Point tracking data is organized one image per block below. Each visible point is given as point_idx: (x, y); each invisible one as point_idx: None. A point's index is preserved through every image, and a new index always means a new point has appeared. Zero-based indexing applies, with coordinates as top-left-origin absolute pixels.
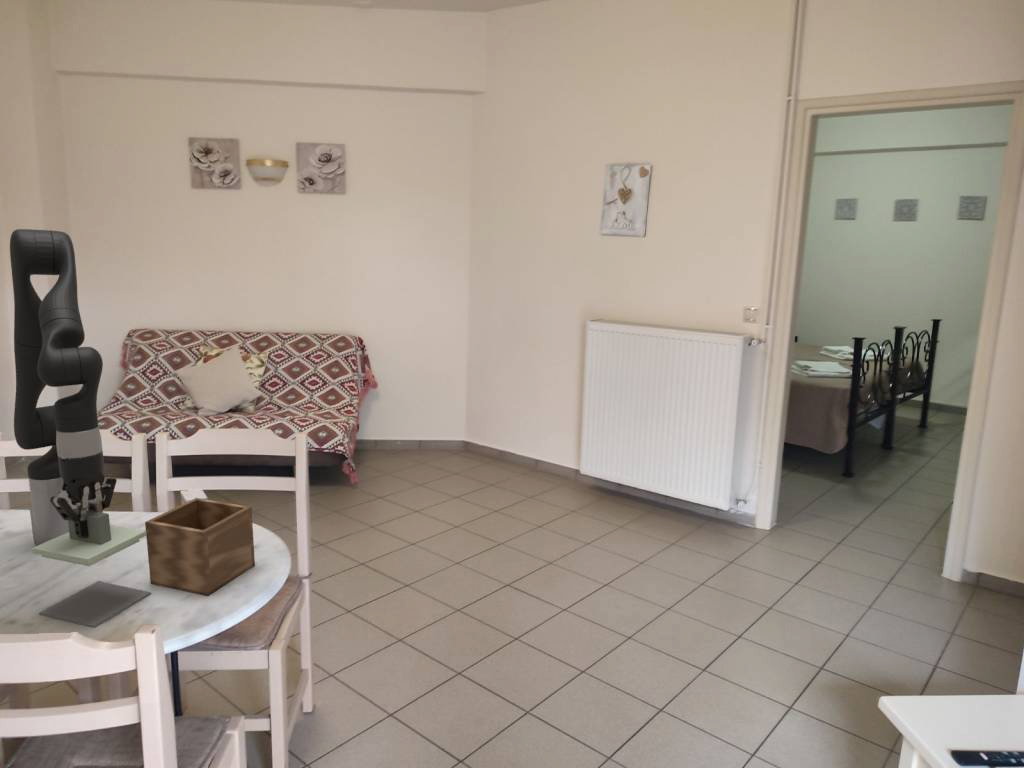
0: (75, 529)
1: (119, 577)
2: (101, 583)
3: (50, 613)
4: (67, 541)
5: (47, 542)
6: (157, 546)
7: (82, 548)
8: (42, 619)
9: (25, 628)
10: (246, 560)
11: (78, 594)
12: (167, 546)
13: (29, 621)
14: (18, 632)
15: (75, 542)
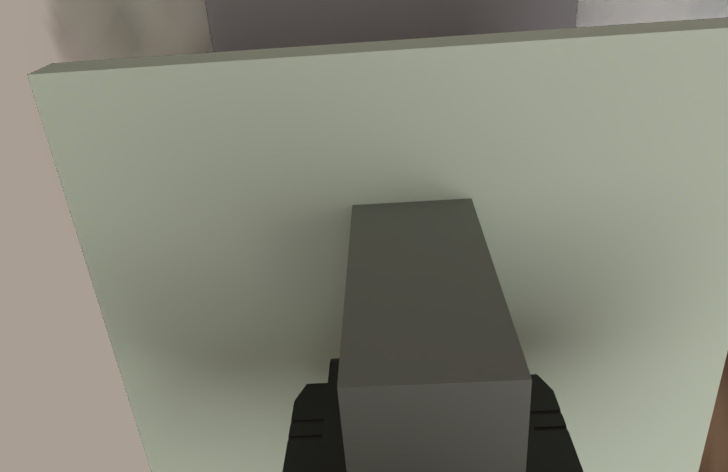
0: (290, 440)
1: (662, 11)
2: (559, 2)
3: (226, 50)
4: (303, 233)
5: (192, 86)
6: (722, 397)
7: (268, 434)
8: (187, 47)
9: (101, 51)
10: None
11: (418, 1)
12: (713, 464)
13: (143, 6)
14: (65, 55)
15: (320, 307)
